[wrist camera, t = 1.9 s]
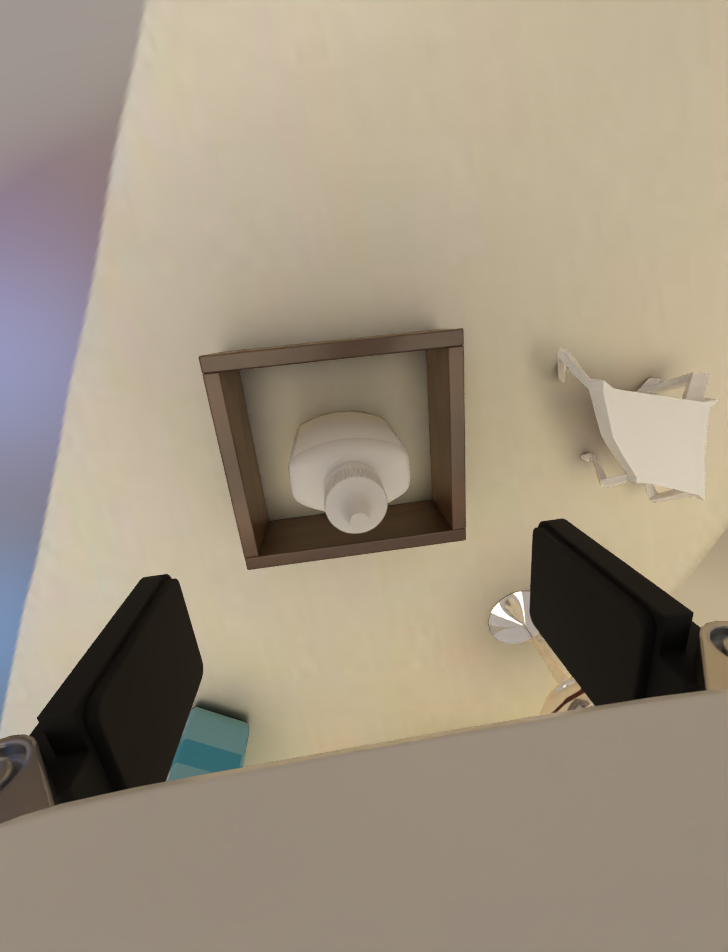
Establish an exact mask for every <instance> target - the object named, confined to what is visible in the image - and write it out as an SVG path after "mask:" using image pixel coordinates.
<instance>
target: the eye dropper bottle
mask: <svg viewBox="0 0 728 952" xmlns="http://www.w3.org/2000/svg"><path fill="white" fill-rule="evenodd" d="M289 478H290V485H291V491H292V495H293V497H294V499H295V500H296V501H297V502H299V503H300V504H302V505H305V506H307V507H310V508H313V509H317V510H321V511H325V513H326V516H327V518H328V519H329V521H331V523H332V524H333V526H335V527H336V528H338V529H340V530H341V531H343V532H346V533H353V534H354V533H356V534H357V533H359V534H360V533H363V532H367V531H369V530H372V528H375V526H377V525H378V524H379V522H381V520H382V519H383V517H384V516H385V514H386V511H387V508H388V507H387V505H388V503H389V502H391V501H393V500H394V499H396V498H398V497H399V496H401V495H402V494H404V493H405V492H406V491H407V489H408V487H409V484H410V462H409V456H408V453H407V451H406V449H405V447H404V446H403V444H402V443H401V441H400V440H399V438H398V437H397V435H396V434H395V433H394V431H393V430H392V428H391V427H390V426H389V424H388V423H387V422H386V421H385V420H384V419H383V418H381V417H378V416H375V415H372V414H368V413H363V412H354V411H343V412H334V413H329V414H325V415H322V416H319V417H316V418H314V419H311V420H309V421H307V422H305V423H304V424H302V425H301V426H300V427H299V428H298V429H297V432H296V436H295V440H294V444H293V448H292V452H291V457H290V462H289Z"/></svg>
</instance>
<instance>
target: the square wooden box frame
mask: <svg viewBox="0 0 728 952" xmlns="http://www.w3.org/2000/svg"><path fill="white" fill-rule="evenodd" d="M463 344H464V338H463V329H462V328H461V329H437V330H428V331H418V332H409V333H399V334H389V335H380V336H370V337H361V338H351V339H342V340H332V341H323V342H313V343H304V344H294V345H285V346H275V347H266V348H256V349H247V350H237V351H228V352H220V353H214V354H208V355H203V356H199V361H200V365H201V370H202V373H203V379H204V383H205V387H206V392H207V396H208V401H209V405H210V409H211V414H212V418H213V422H214V427H215V431H216V435H217V440H218V444H219V448H220V453H221V457H222V462H223V466H224V470H225V475H226V479H227V483H228V488H229V492H230V496H231V501H232V505H233V509H234V514H235V518H236V523H237V527H238V531H239V536H240V540H241V544H242V549H243V553H244V557H245V561H246V565H247V569H248V570H251V569H258V568H266V567H273V566H280V565H288V564H295V563H302V562H309V561H317V560H324V559H331V558H339V557H346V556H353V555H360V554H368V553H375V552H382V551H390V550H397V549H404V548H412V547H419V546H426V545H433V544H441V543H448V542H455V541H463V540H466V529H465V528H466V500H465V416H464V347H463ZM419 350H426V359H427V382H428V406H429V429H430V453H431V476H432V499H433V500H430V501H422V502H415V503H407V504H399V505H392V506H387V507H388V508H387V511H386V514H385V516H384V517H383V519H382V520H381V522H379V524H378V525H377V526H375V528H372V530H369V531H367V532H363V533H360V534H359V533H357V534H356V533H354V534H353V533H346V532H343V531H341V530H340V529H338V528H336V527H335V526H333V524H332V523H331V521H329V519H328V518H327V516H326V514H323V515H315V516H307V517H300V518H292V519H284V520H277V521H269V519H268V514H267V509H266V504H265V499H264V494H263V489H262V484H261V479H260V474H259V469H258V464H257V459H256V454H255V449H254V444H253V439H252V434H251V429H250V424H249V419H248V414H247V409H246V404H245V399H244V394H243V388H242V383H241V378H240V373H239V370H242V369H252V368H261V367H270V366H279V365H289V364H298V363H307V362H317V361H326V360H335V359H344V358H354V357H363V356H372V355H381V354H391V353H400V352H409V351H419ZM268 521H269V522H268Z"/></svg>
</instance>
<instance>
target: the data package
mask: <svg viewBox="0 0 728 952" xmlns="http://www.w3.org/2000/svg"><path fill="white" fill-rule="evenodd" d="M248 735H249V725H248V724H247V723H246V722H243V721H239V720H236V719H233V718H230V717H227V716H224V715H221V714H218V713H215V712H211V711H208V710H205V709H202V708H199V707H195V708H193V709H192V710H191V712H190V714H189V717H188V719H187V722H186V725H185V728H184V731H183V734H182V737H181V739H180V742H179V745H178V748H177V751H176V754H175V757H174V760H173V762H172V765H171V768H170V771H169V774H168V777H167V780H166V781H171V780H176V779H182V778H187V777H192V776H197V775H203V774H208V773H214V772H219V771H225V770H231V769H236V768H242V767H243V762H244V757H245V752H246V746H247V741H248Z"/></svg>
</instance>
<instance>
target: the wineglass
mask: <svg viewBox="0 0 728 952" xmlns="http://www.w3.org/2000/svg"><path fill="white" fill-rule="evenodd" d="M529 608H530V591H522V592H517V593H514V594H511V595H508V596H507V597H505V598H504V599H502V600H500V602H499V603H498V604H497V605H496V606H495V607H494V608H493V610H492V612H491V614H490V617H489V628H490V632H491V633H492V634H493V636H494V637H495V638H496V639H498V640H499V641H501V642H504V643H509V644H517V643H523V642H526V641H529V640H531V641H532V643H533V644H534V646H535V648H536V649H537V651H538V652H539V654H540V656H541V657H542V659H543V661H544V662H545V664H546V665H547V667H548V669H549V670H550V672H551V674H552V675H553V677H554V678H555V680H556V682H557V683H558V685H556V686H555V687H554V688H553V689H552V690H551V691H550V693H549V695H548V696H547V698H546V700H545V702H544V705H543V707H542V710H541V712H540V715H546V714H552V713H557V712H563V711H569V710H575V709H581V708H587V707H593V706H594V704H593V703H592V702H591V701H590V699H589V698H588V697H587V695H586V694H585V693H584V691H583V690H582V689H581V687H580V686H579V685H578V683H577V682H576V681H575V679H574V678H573V677H570V678H568V677H567V675H566V674H565V673H564V671H563V670H562V669H561V668H560V666H559V665H558V664H557V662H556V661H555V660H554V659H553V657H552V656H551V655H550V653H549V652H548V651H547V650H546V648H545V647H544V646H543V644H542V643H541V642H540V641H539V639H538V638H537V637H536V636H537V635H538V634H539V632H538V630H537V629H536V628H535V626H534V625H533V623H532V621H531V618H530V612H529ZM540 715H539V716H540Z"/></svg>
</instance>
